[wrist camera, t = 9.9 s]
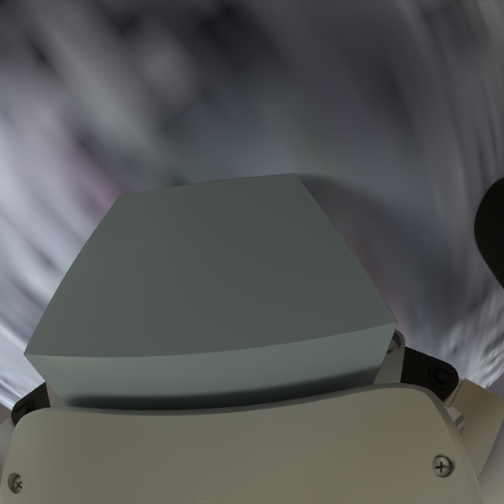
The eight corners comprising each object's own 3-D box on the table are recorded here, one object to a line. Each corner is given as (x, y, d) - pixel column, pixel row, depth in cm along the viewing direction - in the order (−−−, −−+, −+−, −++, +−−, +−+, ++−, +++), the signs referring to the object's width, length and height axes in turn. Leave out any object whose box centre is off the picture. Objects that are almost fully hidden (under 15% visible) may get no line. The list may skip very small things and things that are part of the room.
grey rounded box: (119, 195, 12) (23, 354, 5) (295, 173, 12) (397, 321, 5) (159, 322, 16) (142, 469, 9) (294, 307, 17) (337, 453, 9)
